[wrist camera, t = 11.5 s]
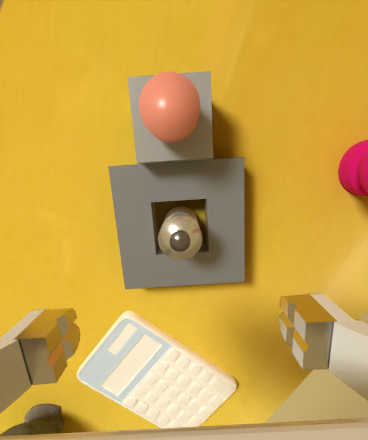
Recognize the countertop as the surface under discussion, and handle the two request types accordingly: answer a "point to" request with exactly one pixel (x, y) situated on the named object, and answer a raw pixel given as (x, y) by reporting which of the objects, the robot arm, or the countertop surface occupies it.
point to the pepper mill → (355, 169)
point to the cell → (180, 234)
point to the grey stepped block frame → (174, 191)
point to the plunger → (169, 106)
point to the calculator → (155, 374)
